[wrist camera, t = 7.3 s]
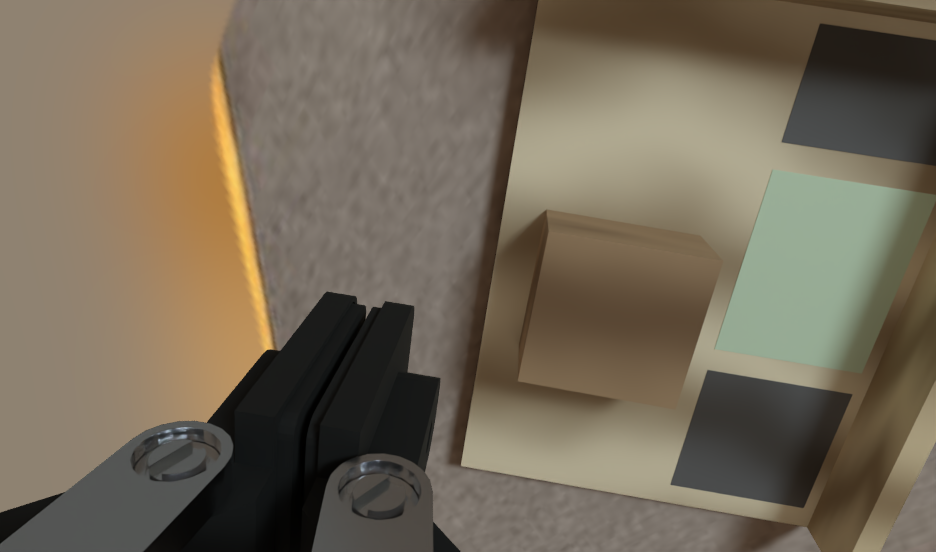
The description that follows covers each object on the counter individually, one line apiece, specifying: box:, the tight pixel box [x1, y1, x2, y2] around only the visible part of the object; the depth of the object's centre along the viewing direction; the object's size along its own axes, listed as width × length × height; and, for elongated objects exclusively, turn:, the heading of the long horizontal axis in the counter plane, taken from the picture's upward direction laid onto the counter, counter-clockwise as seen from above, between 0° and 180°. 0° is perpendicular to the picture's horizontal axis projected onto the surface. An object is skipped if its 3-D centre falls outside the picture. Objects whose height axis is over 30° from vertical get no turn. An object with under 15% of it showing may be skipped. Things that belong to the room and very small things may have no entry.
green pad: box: [715, 170, 936, 374], centre depth 24 cm, size 8×6×1 cm
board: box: [461, 0, 936, 552], centre depth 23 cm, size 22×17×4 cm
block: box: [518, 209, 723, 410], centre depth 23 cm, size 6×6×3 cm
